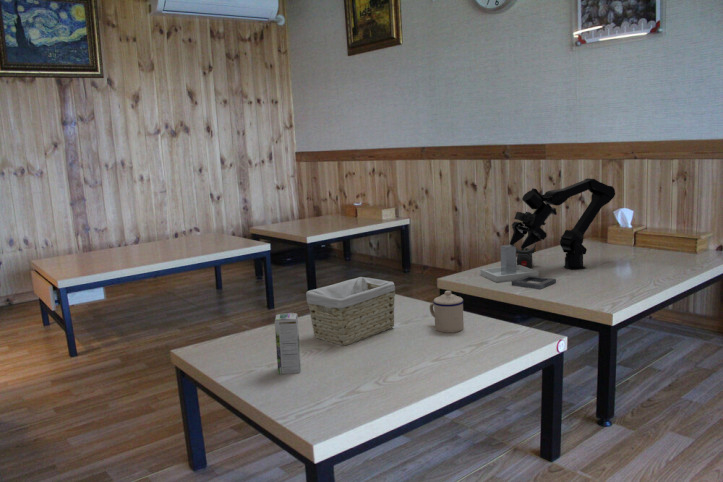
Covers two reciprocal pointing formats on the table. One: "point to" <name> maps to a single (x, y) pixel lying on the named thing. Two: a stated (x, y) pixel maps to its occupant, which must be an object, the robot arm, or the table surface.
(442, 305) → the teacup with lid
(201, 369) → the table surface
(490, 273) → the parts tray
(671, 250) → the table surface
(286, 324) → the syrup box
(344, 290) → the storage basket
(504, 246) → the grey rectangular block
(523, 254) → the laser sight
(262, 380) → the table surface
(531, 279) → the dark grey square frame
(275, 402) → the table surface
